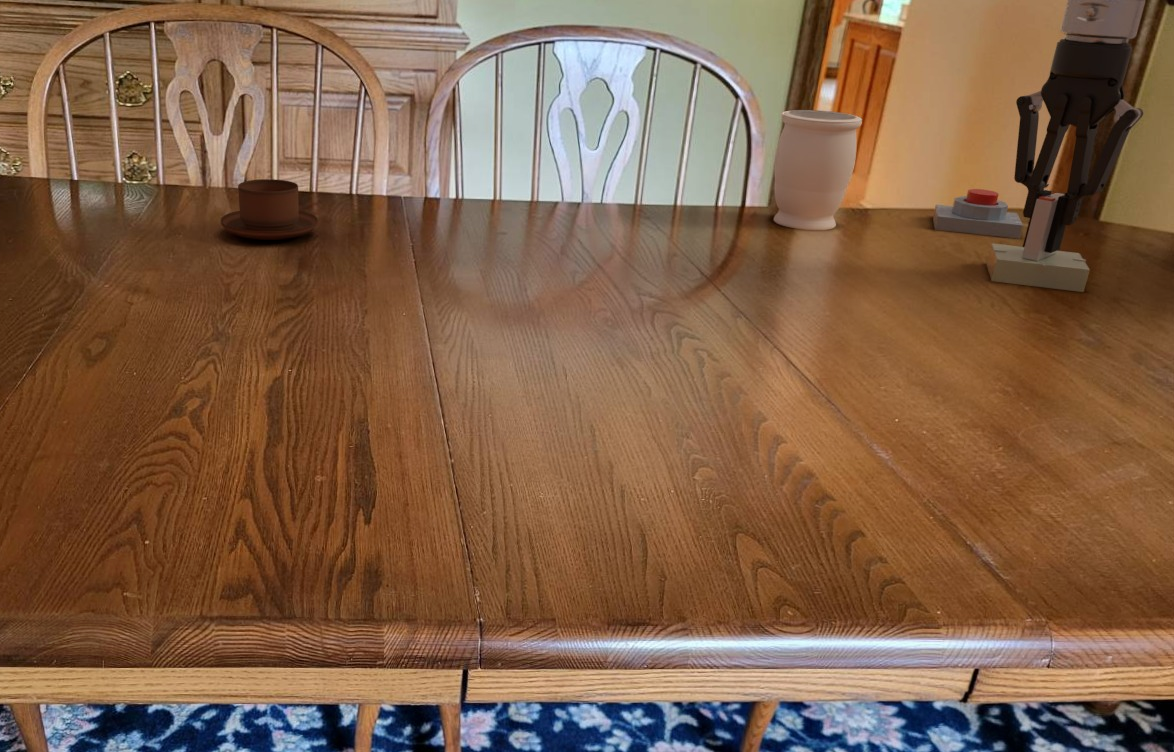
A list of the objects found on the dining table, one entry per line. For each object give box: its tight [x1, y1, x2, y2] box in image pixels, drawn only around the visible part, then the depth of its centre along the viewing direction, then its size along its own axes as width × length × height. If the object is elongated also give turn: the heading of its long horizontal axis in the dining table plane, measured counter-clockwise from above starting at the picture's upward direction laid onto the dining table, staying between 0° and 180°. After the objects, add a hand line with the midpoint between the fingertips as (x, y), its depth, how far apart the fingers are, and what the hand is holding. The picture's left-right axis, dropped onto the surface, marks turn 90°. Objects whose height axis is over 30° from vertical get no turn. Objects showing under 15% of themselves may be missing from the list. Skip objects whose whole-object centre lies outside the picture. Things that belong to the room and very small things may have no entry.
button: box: [966, 188, 1000, 206], centre depth 154 cm, size 4×4×2 cm
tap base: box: [986, 243, 1091, 293], centre depth 133 cm, size 10×10×3 cm
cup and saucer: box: [220, 178, 319, 241], centre depth 137 cm, size 12×12×6 cm
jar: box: [773, 109, 863, 231], centre depth 152 cm, size 11×10×15 cm
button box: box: [932, 195, 1024, 240], centre depth 155 cm, size 11×8×4 cm
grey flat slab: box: [1022, 192, 1065, 261], centre depth 131 cm, size 6×2×7 cm, turn 134°
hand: (1041, 248), depth 132 cm, fingers closed on grey flat slab, 2 cm apart
